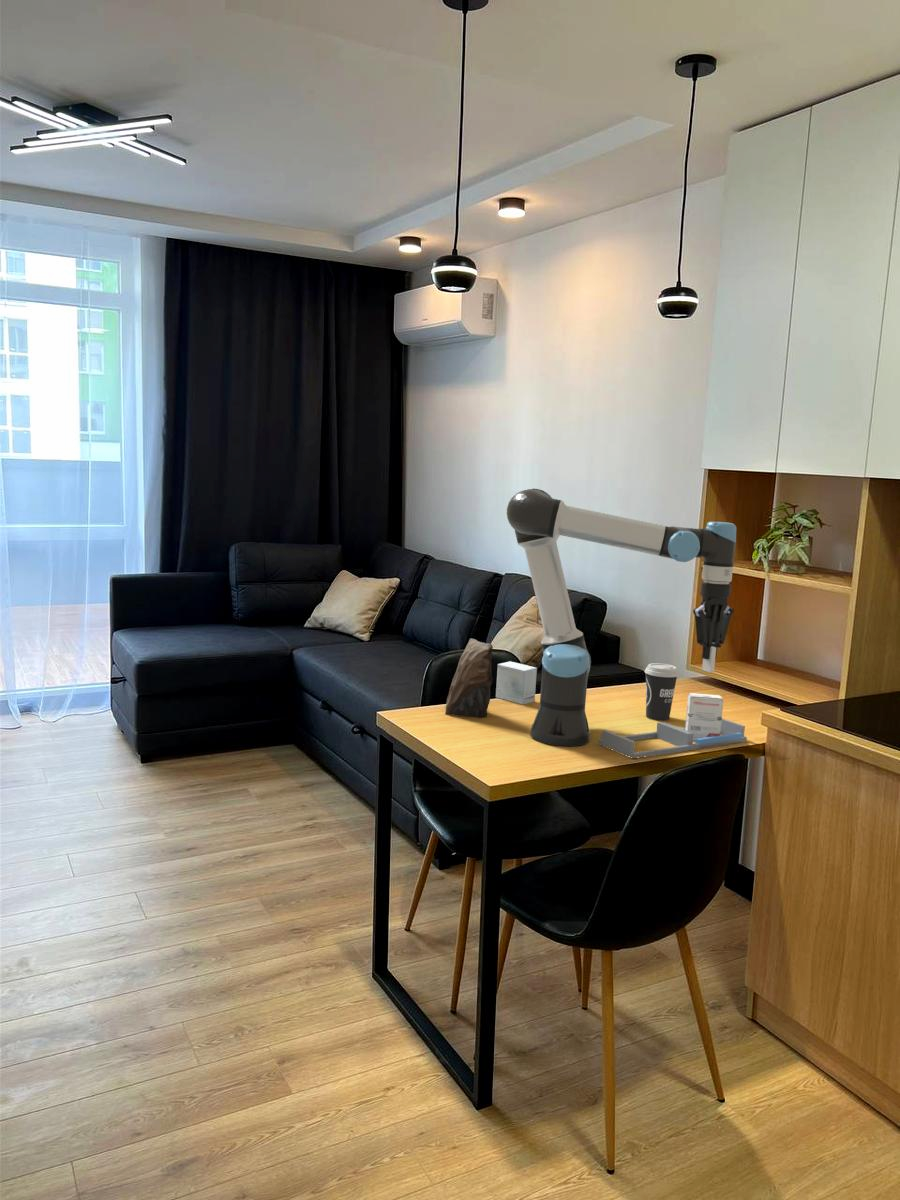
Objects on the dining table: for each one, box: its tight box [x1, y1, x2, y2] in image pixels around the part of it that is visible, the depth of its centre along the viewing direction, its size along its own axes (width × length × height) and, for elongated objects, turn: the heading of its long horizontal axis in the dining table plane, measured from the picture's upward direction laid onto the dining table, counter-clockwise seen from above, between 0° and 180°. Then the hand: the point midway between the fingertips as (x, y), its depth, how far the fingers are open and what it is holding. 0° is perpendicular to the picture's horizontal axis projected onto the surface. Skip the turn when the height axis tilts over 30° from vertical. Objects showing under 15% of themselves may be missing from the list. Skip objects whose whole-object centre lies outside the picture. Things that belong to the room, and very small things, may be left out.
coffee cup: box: [644, 662, 680, 722], centre depth 262 cm, size 10×10×15 cm
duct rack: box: [597, 717, 748, 759], centre depth 238 cm, size 40×13×4 cm, turn 121°
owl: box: [444, 638, 494, 719], centre depth 256 cm, size 13×13×20 cm
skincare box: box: [495, 660, 538, 706], centre depth 274 cm, size 10×6×10 cm, turn 48°
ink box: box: [684, 692, 724, 742], centre depth 243 cm, size 9×5×12 cm, turn 84°
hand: (707, 671), depth 241 cm, fingers closed
